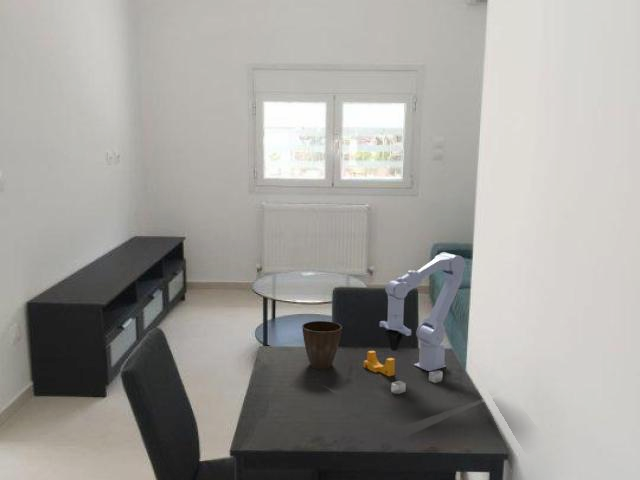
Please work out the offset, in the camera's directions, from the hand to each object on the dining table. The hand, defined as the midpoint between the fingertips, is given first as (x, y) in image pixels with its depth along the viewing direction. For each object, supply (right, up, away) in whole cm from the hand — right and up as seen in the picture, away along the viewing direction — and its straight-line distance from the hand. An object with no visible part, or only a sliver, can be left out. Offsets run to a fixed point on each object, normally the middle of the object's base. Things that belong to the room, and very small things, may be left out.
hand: (394, 349), depth 218 cm
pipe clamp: (-5, -9, +4) cm, 11 cm away
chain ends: (+7, -11, -9) cm, 16 cm away
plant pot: (-27, -8, +8) cm, 29 cm away
